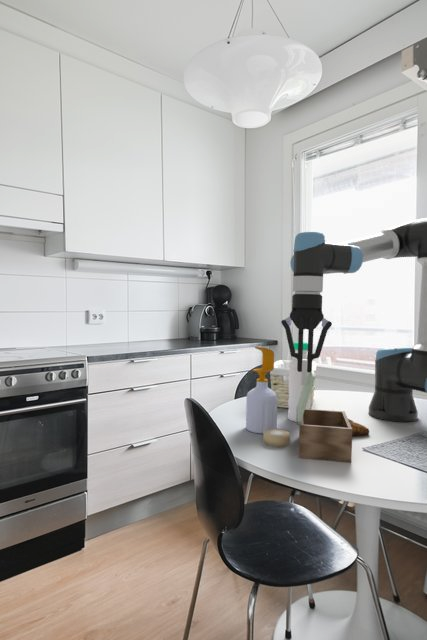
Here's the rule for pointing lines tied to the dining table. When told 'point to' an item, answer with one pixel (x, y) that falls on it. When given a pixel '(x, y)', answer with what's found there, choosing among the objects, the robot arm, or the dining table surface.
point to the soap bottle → (262, 398)
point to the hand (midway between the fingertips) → (303, 384)
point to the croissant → (358, 429)
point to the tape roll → (276, 437)
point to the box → (325, 435)
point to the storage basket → (285, 382)
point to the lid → (305, 396)
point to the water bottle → (296, 384)
